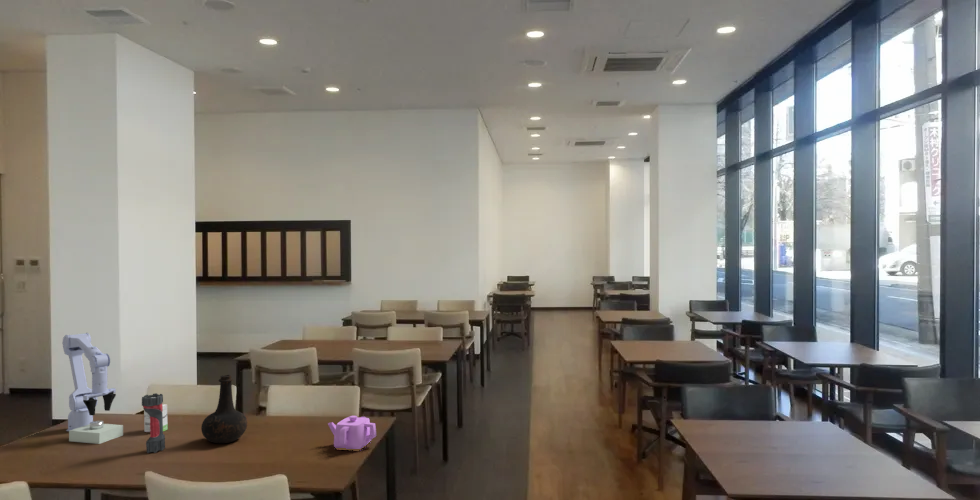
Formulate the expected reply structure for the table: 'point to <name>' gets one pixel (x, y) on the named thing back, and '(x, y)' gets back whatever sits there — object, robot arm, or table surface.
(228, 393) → the glass bottle
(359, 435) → the teakettle
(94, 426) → the steel pin
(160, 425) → the flashlight
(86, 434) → the pin block
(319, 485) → the table surface
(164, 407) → the ink box
